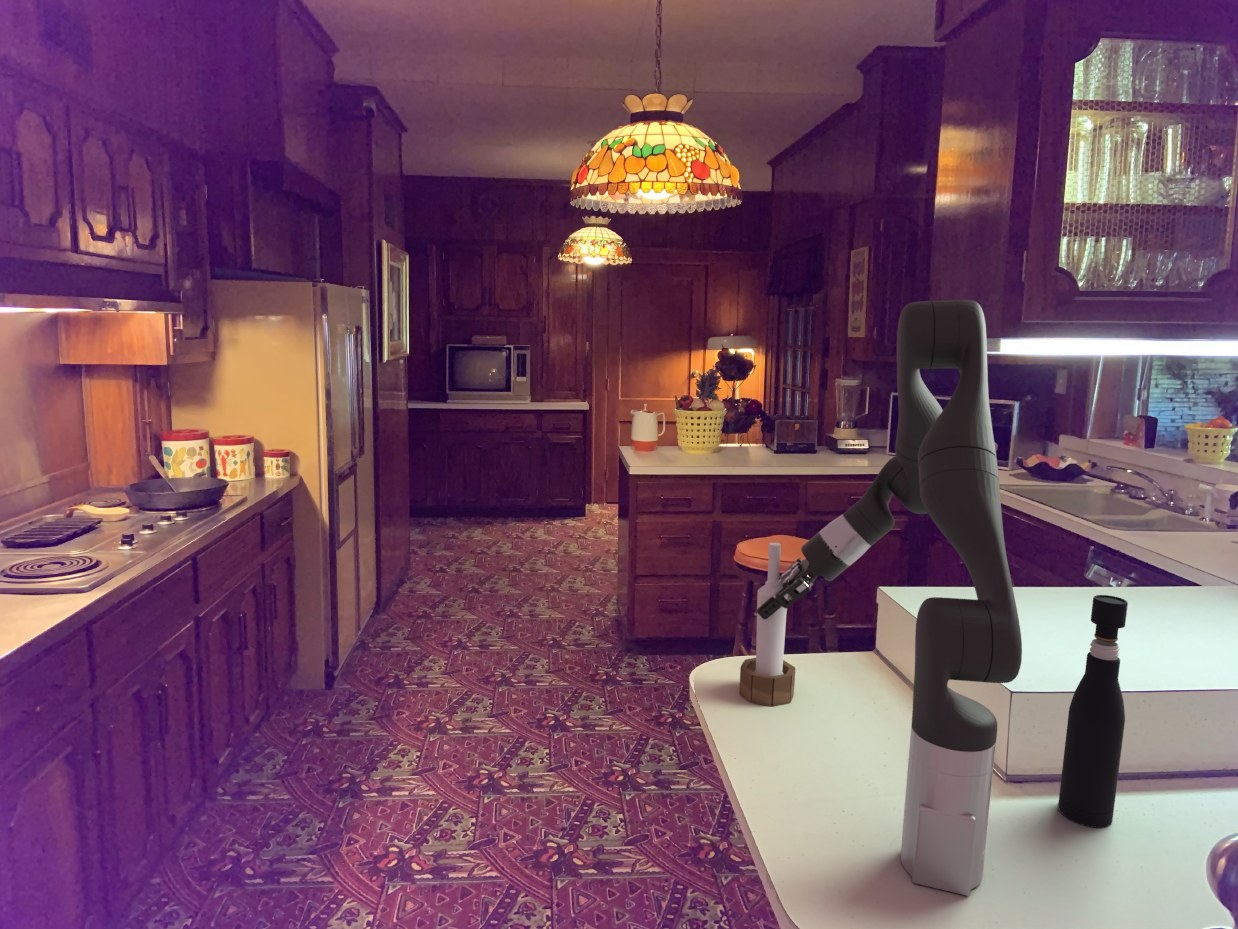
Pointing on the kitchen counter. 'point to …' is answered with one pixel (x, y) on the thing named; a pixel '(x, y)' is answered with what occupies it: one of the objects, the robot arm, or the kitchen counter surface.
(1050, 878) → the kitchen counter surface
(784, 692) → the wooden cup
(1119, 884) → the kitchen counter surface
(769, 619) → the bottle
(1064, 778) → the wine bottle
